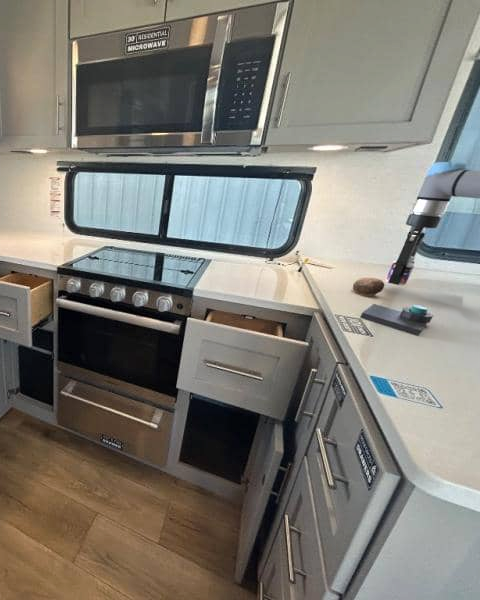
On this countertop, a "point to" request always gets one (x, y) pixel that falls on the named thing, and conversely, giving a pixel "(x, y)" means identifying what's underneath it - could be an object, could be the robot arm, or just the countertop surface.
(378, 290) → the brown oval lump
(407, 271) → the pill bottle
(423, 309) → the tare button
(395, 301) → the countertop surface
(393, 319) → the scale
